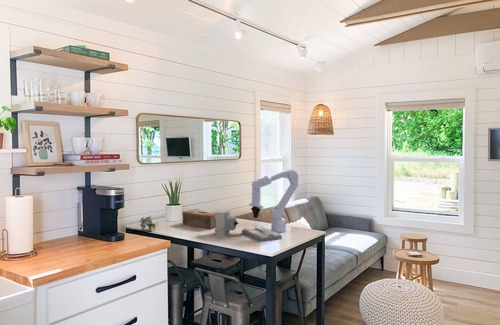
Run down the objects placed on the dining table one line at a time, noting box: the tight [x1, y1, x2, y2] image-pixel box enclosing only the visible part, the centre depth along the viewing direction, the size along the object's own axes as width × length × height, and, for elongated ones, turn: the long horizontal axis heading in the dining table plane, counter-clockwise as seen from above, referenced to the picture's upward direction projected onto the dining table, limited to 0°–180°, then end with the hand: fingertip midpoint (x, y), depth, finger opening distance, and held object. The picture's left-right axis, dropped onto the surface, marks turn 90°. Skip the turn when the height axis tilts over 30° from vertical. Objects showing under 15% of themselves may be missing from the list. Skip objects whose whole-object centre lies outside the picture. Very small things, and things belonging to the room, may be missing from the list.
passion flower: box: [139, 215, 159, 232], centre depth 264 cm, size 11×11×12 cm
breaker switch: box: [264, 228, 271, 236], centre depth 246 cm, size 3×4×4 cm
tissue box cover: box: [182, 208, 216, 231], centre depth 280 cm, size 26×14×10 cm, turn 58°
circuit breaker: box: [214, 209, 239, 237], centre depth 255 cm, size 8×14×15 cm, turn 78°
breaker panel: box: [241, 226, 283, 243], centre depth 252 cm, size 16×24×3 cm, turn 30°
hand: (255, 217), depth 263 cm, fingers closed
